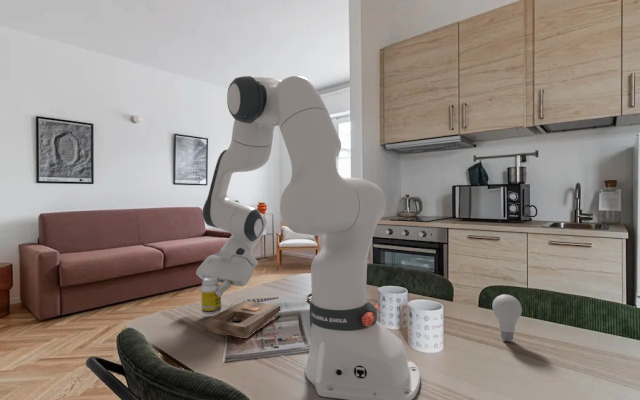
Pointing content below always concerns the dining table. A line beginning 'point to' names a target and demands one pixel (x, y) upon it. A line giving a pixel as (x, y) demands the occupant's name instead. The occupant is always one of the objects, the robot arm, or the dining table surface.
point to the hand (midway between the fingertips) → (209, 293)
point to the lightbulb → (507, 314)
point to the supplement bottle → (210, 296)
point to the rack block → (247, 310)
